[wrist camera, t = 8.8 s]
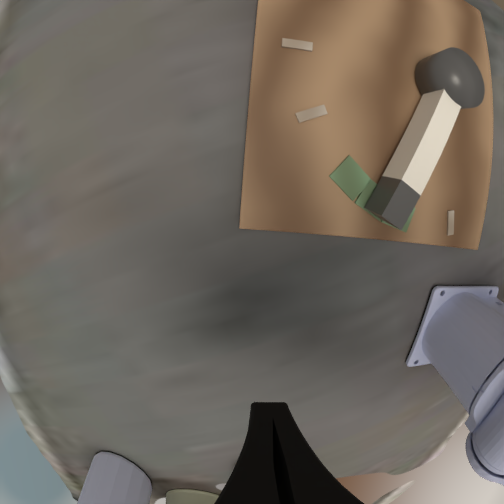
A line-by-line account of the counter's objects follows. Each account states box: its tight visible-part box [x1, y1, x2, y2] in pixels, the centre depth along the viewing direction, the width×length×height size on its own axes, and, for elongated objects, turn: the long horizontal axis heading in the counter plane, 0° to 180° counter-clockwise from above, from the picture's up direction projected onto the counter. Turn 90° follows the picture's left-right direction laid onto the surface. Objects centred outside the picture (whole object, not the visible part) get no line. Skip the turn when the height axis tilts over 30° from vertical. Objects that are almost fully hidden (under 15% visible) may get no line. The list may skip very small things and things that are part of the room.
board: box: [239, 0, 493, 250], centre depth 15 cm, size 19×22×1 cm
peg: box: [364, 47, 485, 230], centre depth 14 cm, size 13×4×3 cm, turn 151°
